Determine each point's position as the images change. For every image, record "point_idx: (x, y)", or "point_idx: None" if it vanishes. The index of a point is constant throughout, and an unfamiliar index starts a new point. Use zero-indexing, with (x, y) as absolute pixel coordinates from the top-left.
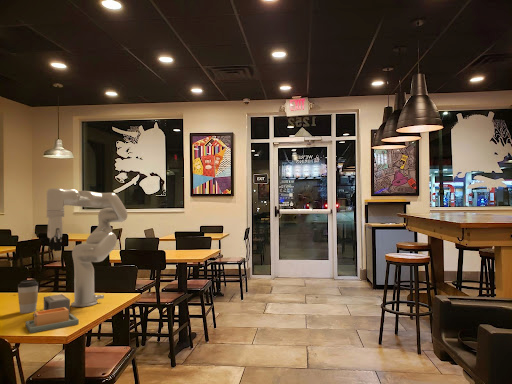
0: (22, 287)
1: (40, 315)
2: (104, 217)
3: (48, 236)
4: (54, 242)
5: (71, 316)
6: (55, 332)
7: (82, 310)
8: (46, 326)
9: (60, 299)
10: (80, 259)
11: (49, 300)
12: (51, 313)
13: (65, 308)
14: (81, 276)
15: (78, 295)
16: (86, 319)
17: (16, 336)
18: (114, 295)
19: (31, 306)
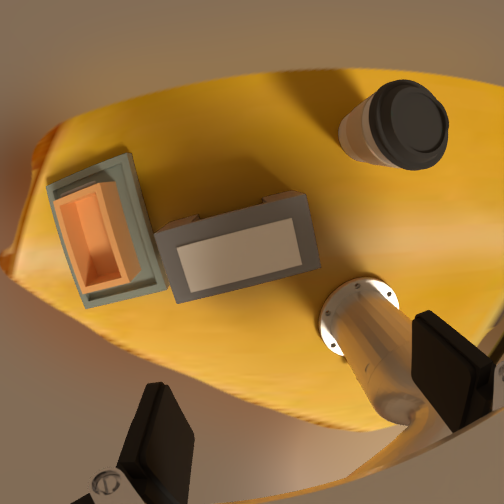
0: (372, 98)
1: (56, 210)
2: None
3: (417, 477)
4: (127, 466)
5: (130, 290)
6: (39, 248)
7: (269, 315)
8: (58, 225)
9: (184, 270)
10: (416, 420)
11: (198, 225)
12: (65, 242)
13: (107, 284)
14: (370, 370)
15: (349, 318)
16: (135, 325)
17: (42, 155)
18: None
19: (347, 145)
